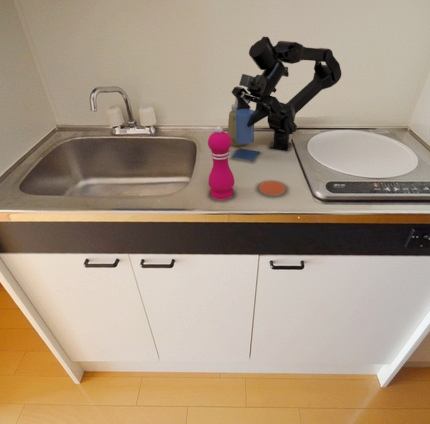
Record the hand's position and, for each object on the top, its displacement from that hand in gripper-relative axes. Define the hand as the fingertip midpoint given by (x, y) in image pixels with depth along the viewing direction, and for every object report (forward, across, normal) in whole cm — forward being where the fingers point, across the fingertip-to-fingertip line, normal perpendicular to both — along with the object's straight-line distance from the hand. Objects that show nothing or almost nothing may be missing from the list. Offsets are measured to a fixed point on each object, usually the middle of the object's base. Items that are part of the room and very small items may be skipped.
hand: (241, 123), depth 89 cm
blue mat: (+7, -2, +12) cm, 14 cm away
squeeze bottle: (+4, -12, +16) cm, 20 cm away
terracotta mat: (+12, +20, +6) cm, 24 cm away
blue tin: (+3, 0, +5) cm, 6 cm away
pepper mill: (+22, +13, -3) cm, 25 cm away
